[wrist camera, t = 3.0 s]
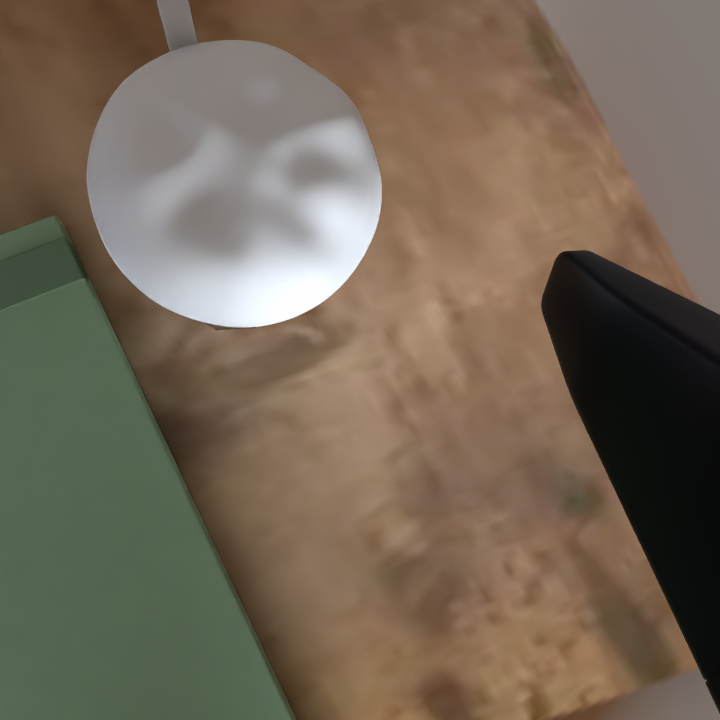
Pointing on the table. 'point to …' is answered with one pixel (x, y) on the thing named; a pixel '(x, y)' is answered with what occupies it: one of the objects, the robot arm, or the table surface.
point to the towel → (102, 525)
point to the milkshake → (232, 180)
